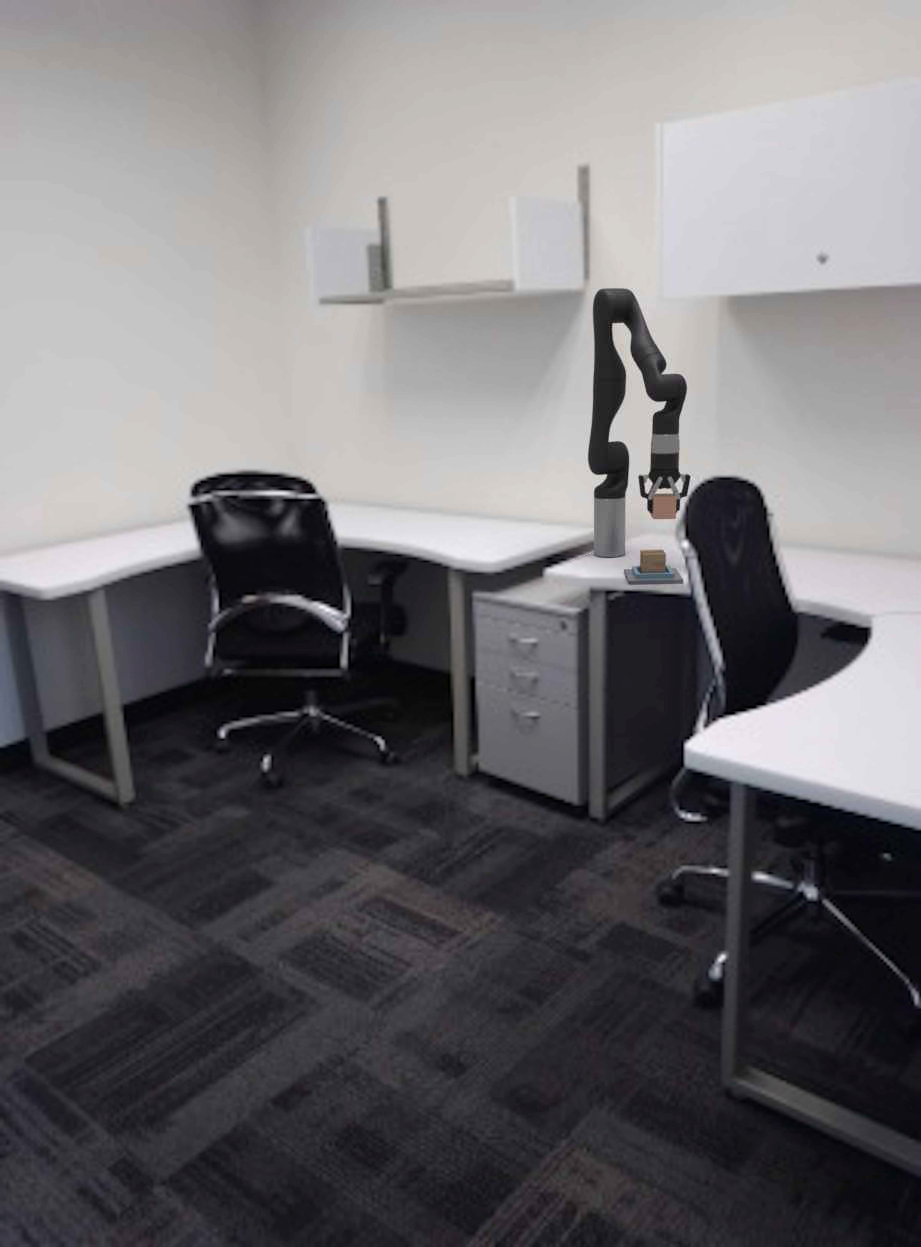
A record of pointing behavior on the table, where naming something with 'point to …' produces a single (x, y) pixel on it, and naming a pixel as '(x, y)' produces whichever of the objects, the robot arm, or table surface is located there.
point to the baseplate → (652, 576)
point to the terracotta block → (664, 506)
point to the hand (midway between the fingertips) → (663, 512)
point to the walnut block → (652, 561)
